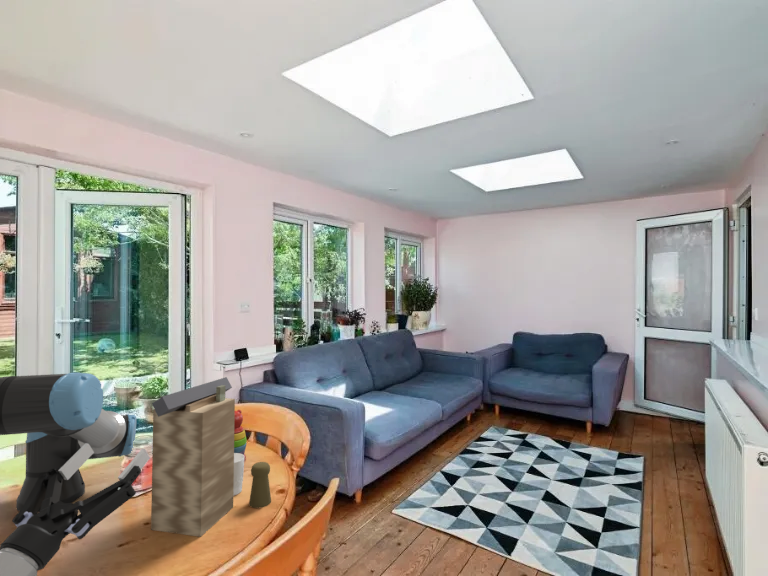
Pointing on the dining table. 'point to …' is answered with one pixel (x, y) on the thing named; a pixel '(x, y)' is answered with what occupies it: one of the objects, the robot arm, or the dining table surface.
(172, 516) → the tall wooden block
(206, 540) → the dining table surface
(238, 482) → the white cup
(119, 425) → the robot arm
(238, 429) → the stacking bear
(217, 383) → the bar
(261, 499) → the olive pawn
